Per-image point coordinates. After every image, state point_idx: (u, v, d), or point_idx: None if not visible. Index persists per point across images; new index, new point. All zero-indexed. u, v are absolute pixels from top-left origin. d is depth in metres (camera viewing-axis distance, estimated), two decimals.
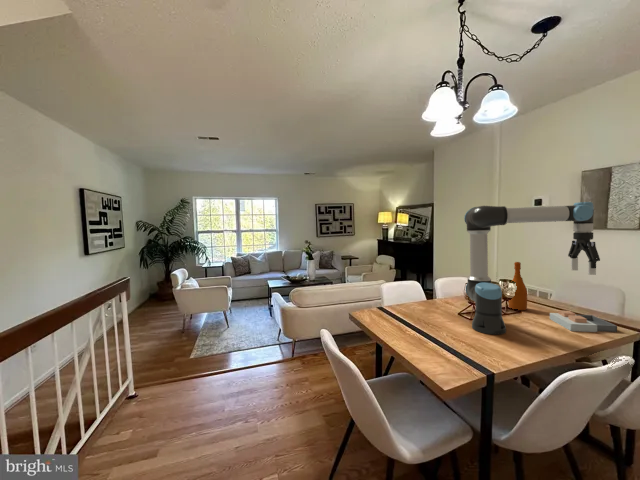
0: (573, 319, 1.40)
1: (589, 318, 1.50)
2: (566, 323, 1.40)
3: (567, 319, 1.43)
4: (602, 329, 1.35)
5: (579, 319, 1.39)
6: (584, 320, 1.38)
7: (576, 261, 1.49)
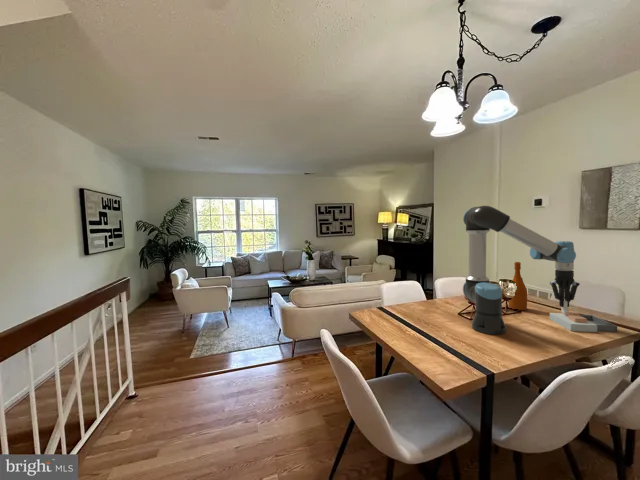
0: (573, 319, 1.40)
1: (589, 318, 1.50)
2: (566, 323, 1.40)
3: (567, 319, 1.43)
4: (602, 329, 1.35)
5: (579, 319, 1.39)
6: (584, 320, 1.38)
7: None
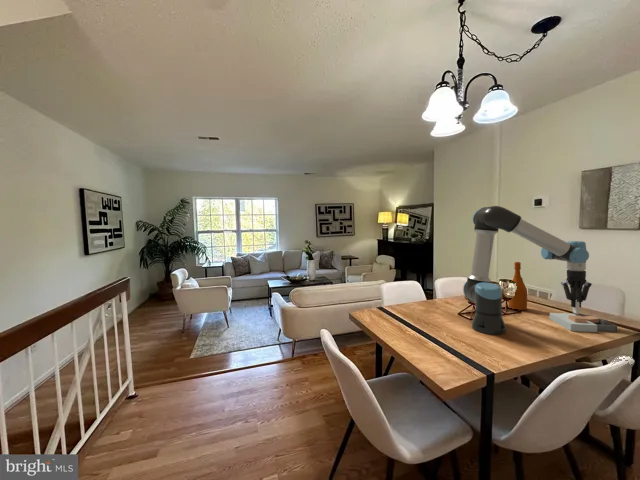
0: (573, 319, 1.40)
1: None
2: (566, 323, 1.40)
3: (567, 319, 1.43)
4: (602, 329, 1.35)
5: (579, 319, 1.39)
6: (584, 320, 1.38)
7: None
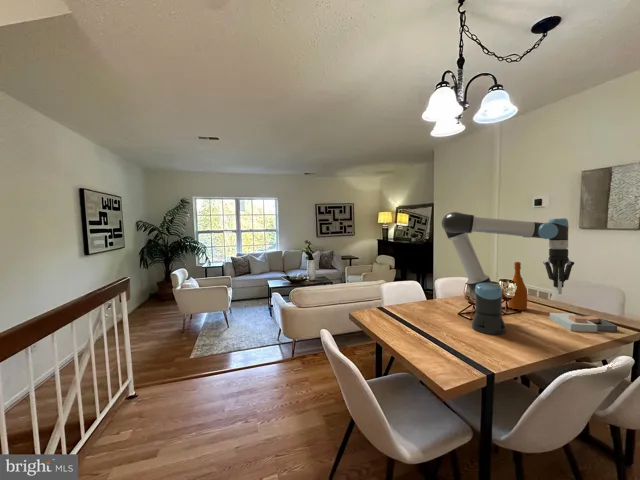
0: (573, 319, 1.40)
1: None
2: (566, 323, 1.40)
3: (567, 319, 1.43)
4: (602, 329, 1.35)
5: (579, 319, 1.39)
6: (584, 320, 1.38)
7: None
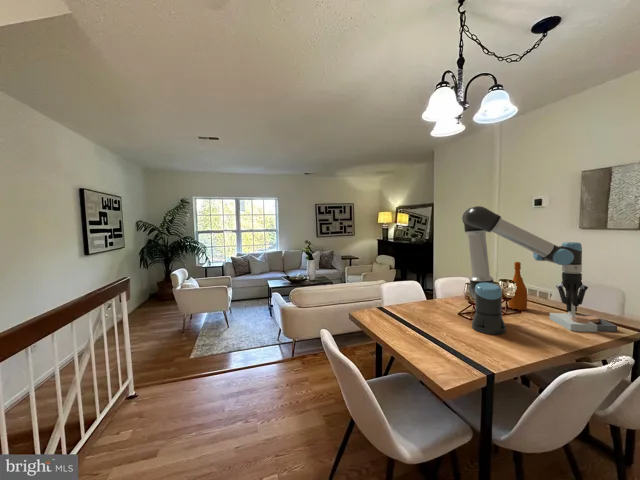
0: (575, 319, 1.40)
1: None
2: (566, 323, 1.40)
3: (567, 319, 1.43)
4: (602, 329, 1.35)
5: (581, 319, 1.38)
6: (586, 320, 1.38)
7: None
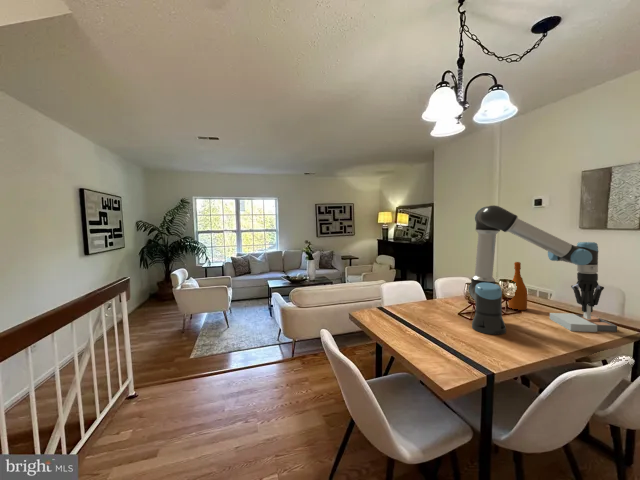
0: None
1: None
2: (566, 323, 1.40)
3: (567, 319, 1.43)
4: (602, 329, 1.35)
5: None
6: None
7: None
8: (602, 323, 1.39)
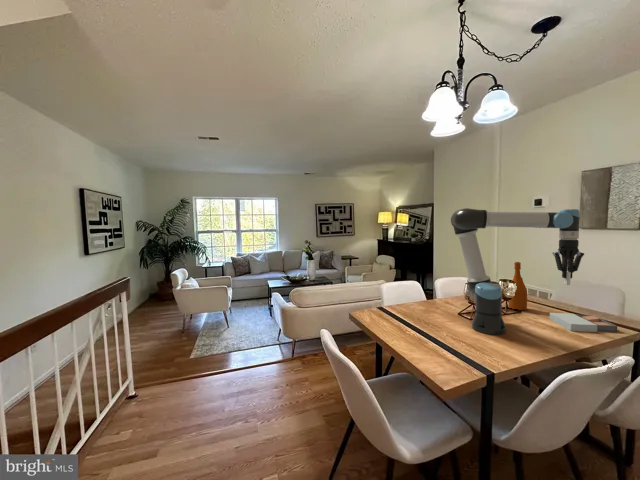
0: None
1: None
2: (566, 323, 1.40)
3: (567, 319, 1.43)
4: (602, 329, 1.35)
5: None
6: None
7: None
8: (602, 323, 1.39)
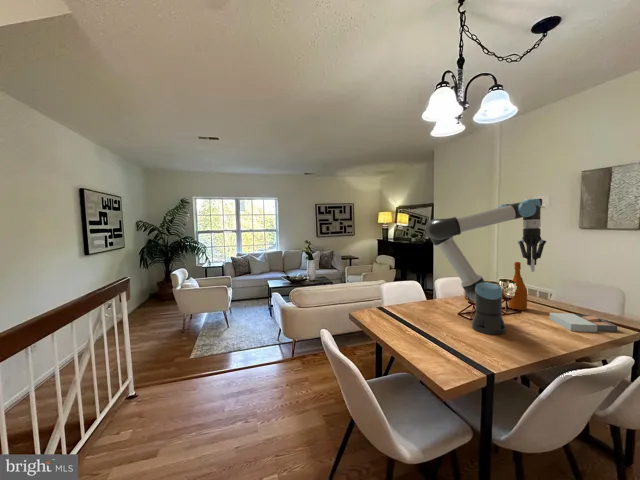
0: None
1: None
2: (566, 323, 1.40)
3: (567, 319, 1.43)
4: (602, 329, 1.35)
5: None
6: None
7: None
8: (602, 323, 1.39)
